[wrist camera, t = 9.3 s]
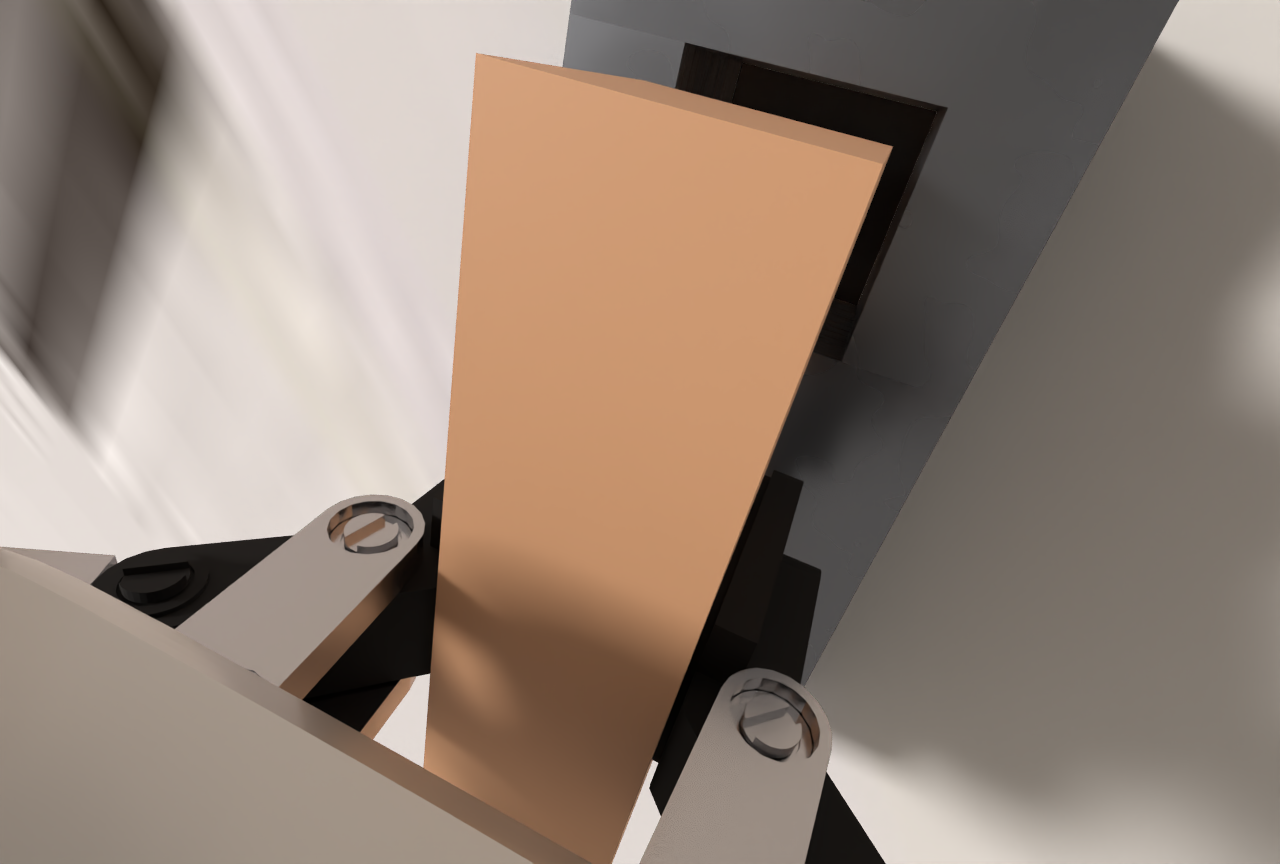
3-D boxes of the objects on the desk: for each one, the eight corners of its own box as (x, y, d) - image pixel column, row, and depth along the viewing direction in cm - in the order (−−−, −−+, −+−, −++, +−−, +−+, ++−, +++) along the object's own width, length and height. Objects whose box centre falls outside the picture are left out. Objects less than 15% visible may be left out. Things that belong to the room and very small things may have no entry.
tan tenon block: (897, 138, 11) (882, 163, 4) (702, 634, 18) (564, 982, 10) (737, 95, 12) (475, 51, 5) (606, 591, 18) (414, 891, 11)
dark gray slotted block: (1107, 13, 11) (1198, -36, 7) (771, 682, 20) (743, 796, 16) (676, -76, 12) (592, -149, 9) (548, 578, 22) (481, 663, 18)
